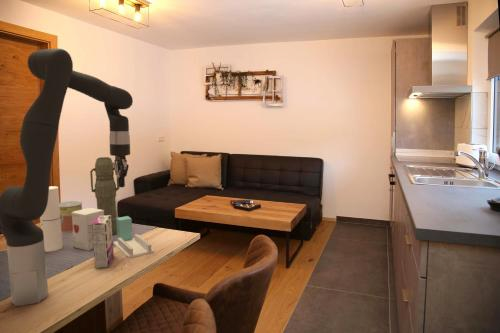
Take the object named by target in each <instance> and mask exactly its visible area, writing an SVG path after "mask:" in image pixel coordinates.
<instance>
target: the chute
mask: <svg viewBox="0 0 500 333" xmlns="http://www.w3.org/2000/svg"><path fill="white" fill-rule="evenodd" d="M113 246H115V247H116V248H117V249H118V250H119V251H120V252H121V253H122V254H123V255H124V256H125V258H127V259H131V258H136V257H139V256H141V257H142V256H144V255H150V254H153V253H154V252H155V251H154V250H153V249H152V244H151V243H150V242H148V241H147V240H146V239H145V238H143V237H142V236H140V235H139V234H138V233H137V234H134V237H132V239H130V240H125V241H124V240H123V239H122V238H121V237H120V238H117V240H116V241H113Z"/></svg>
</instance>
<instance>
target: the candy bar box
mask: <svg viewBox="0 0 500 333" xmlns="http://www.w3.org/2000/svg"><path fill="white" fill-rule="evenodd" d="M92 232H93V245H94V249H93V254H94V255H93V257H94V258H93V259H94V269H104V268H107V269H108V268H109V267H110V266H111V263H112V261H113V259H114V256H115V255H114V244H113V242H114V241H113V240H114V239H113V237H114V236H112V222H111V215H103V216H102V215H101V216H98V217H97V218H96V220H95V221H94V222H93V224H92Z"/></svg>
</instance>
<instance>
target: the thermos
mask: <svg viewBox="0 0 500 333" xmlns="http://www.w3.org/2000/svg"><path fill="white" fill-rule="evenodd" d="M113 162H114V161H113V160H112V158H111V157H109V156H108V157H107V156H106V157H105V156H104V157H103V156H102V157H98V158H96V160H95V164H94V168H91V170H90V171H89V173H90V175H89V176H90V187H91V188H90V189H91V192H92V193H94V196H95V199H96V209H100V210H104V215H111V222H112V237H115V236H117V225H116V218H117V204H116V197H117V192H118V190H120V187H118V177H117V176H116V182H115V177H114V174H115V169H114V165H113ZM93 172H95V182H94V179H93V178H94V177H93Z"/></svg>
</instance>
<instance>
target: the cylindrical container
mask: <svg viewBox="0 0 500 333" xmlns="http://www.w3.org/2000/svg"><path fill="white" fill-rule="evenodd" d="M59 197H60V195H59V187H58V186H52V185H51V186H50V185H49V195H48V203H47V207H46V210H45V212H44V213H43V215H42V216H41V217H40V218H39V223H40V228H41V229H42V230H43V235H44V247H45V253H47V252H48V253H49V252H56V251H60V250H62V249H63V237H62V236H63V235H62V234H63V232H61V220H60V206H59V203H60V198H59Z"/></svg>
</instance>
